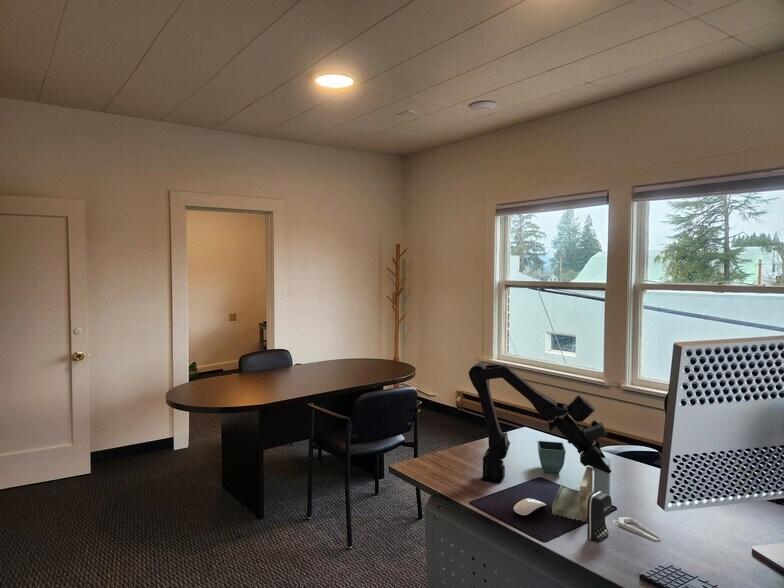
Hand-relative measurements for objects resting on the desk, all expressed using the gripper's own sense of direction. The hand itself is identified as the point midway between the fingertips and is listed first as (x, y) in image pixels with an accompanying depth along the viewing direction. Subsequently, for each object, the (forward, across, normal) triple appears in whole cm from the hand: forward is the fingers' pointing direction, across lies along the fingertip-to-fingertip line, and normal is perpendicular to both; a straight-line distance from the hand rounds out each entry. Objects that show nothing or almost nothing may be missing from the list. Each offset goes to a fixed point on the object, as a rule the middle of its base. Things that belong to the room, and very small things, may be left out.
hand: (609, 468), depth 158 cm
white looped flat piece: (+11, -20, +2) cm, 23 cm away
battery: (+3, -29, +9) cm, 30 cm away
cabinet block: (+4, 0, +7) cm, 9 cm away
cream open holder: (-2, -13, +14) cm, 19 cm away
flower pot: (-8, +15, +19) cm, 25 cm away
